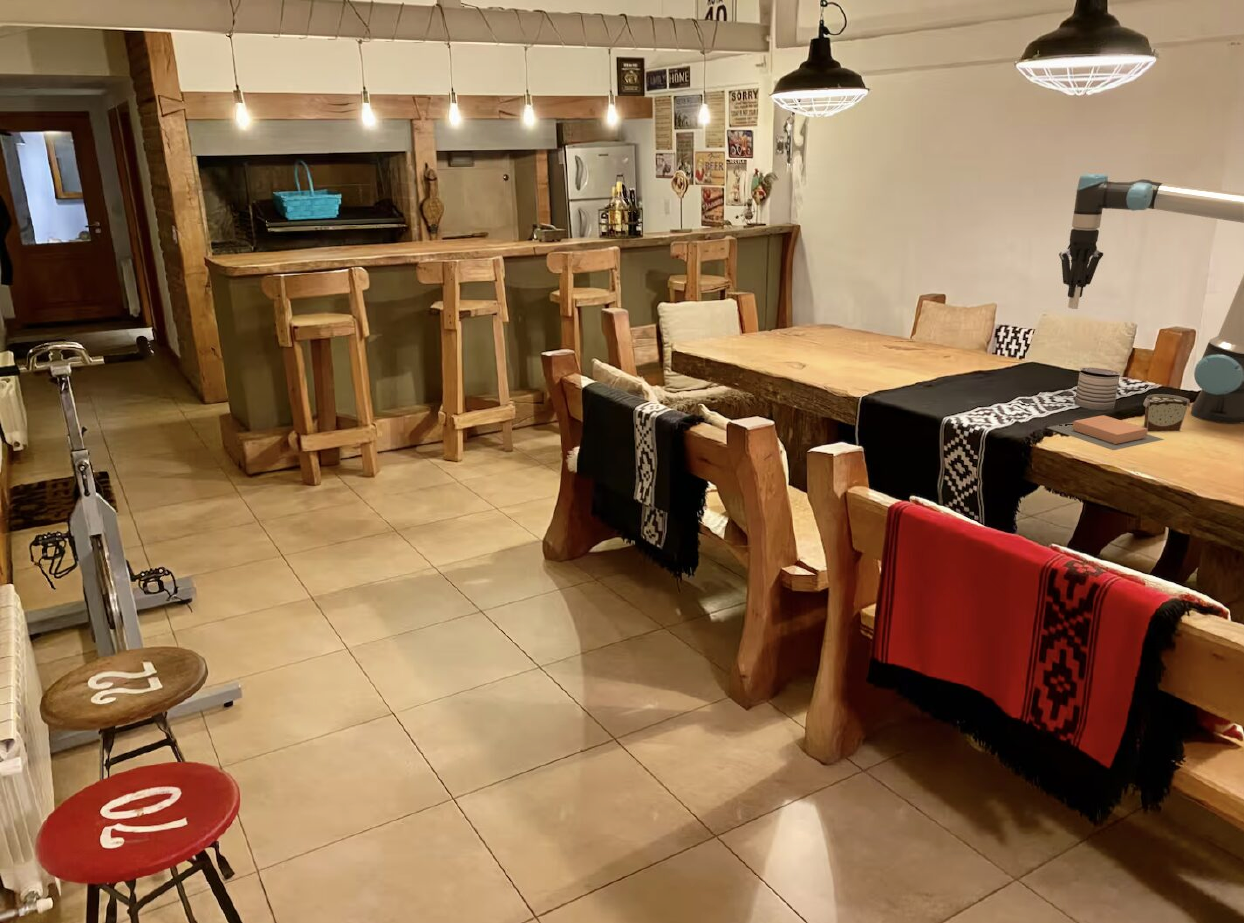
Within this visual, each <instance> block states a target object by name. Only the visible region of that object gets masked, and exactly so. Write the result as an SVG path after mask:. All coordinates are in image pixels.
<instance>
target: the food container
mask: <svg viewBox="0 0 1244 923" xmlns="http://www.w3.org/2000/svg"><path fill="white" fill-rule="evenodd" d="M1142 404H1143V406H1144V407H1145V409H1144V410H1145V411H1144V423H1143V427H1144V428H1148V431H1147V432H1180V431H1181V429H1182V426H1183V422H1184V419H1185V415H1186V412H1187V409H1188V407H1191V402H1190V398H1186V397H1183V396H1179V395H1173V394H1172V395H1171V394H1165V393H1162V394H1161V393H1160V394H1159V393H1157V394H1149V395H1146V398H1145V399H1144V401H1143V403H1142Z"/></svg>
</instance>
